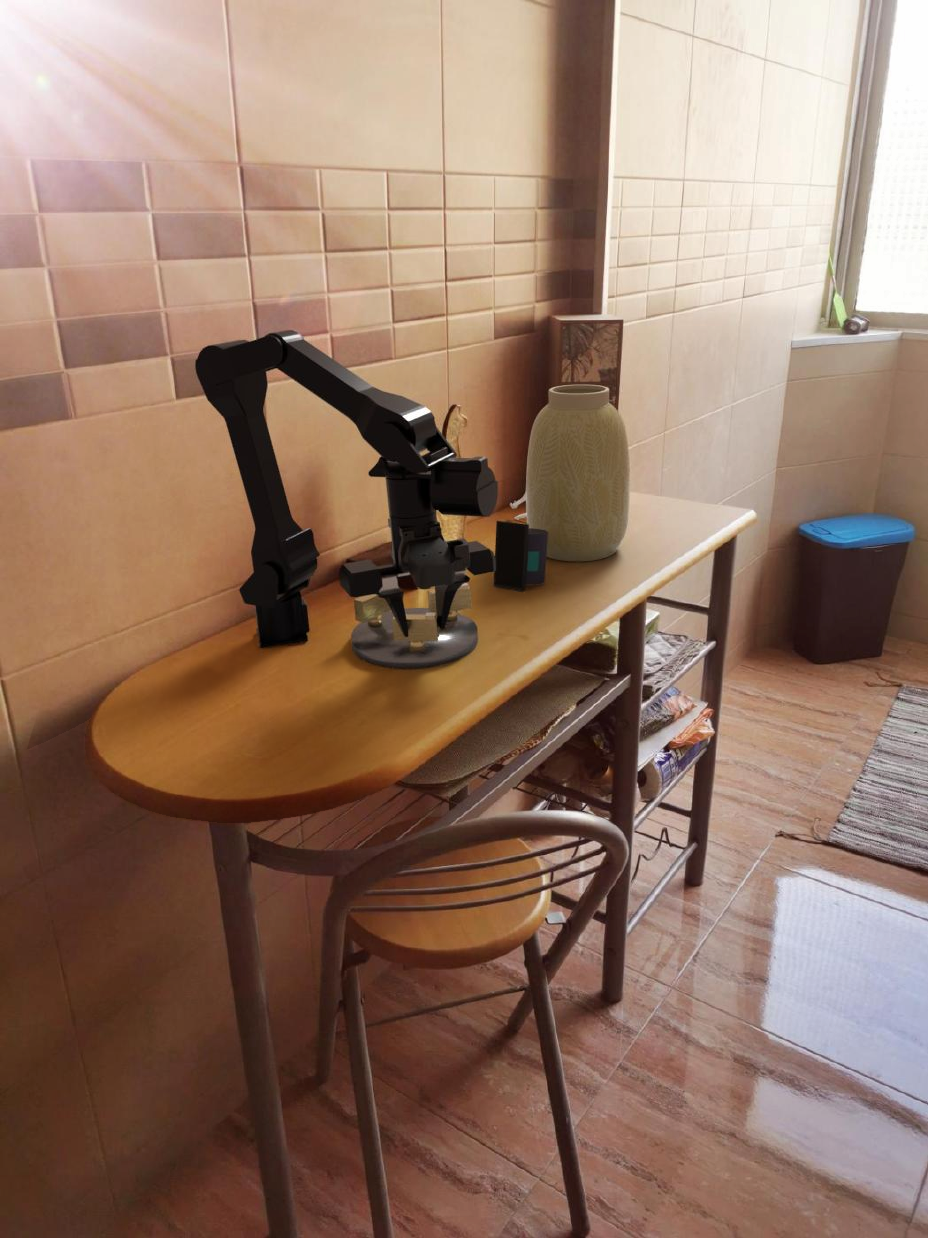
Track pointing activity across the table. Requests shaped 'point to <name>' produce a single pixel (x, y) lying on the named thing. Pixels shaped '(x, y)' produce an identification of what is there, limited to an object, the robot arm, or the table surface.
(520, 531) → the speaker
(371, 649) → the plate
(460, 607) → the knob right
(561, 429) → the vase
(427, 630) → the knob front
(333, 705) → the table surface
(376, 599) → the knob left
